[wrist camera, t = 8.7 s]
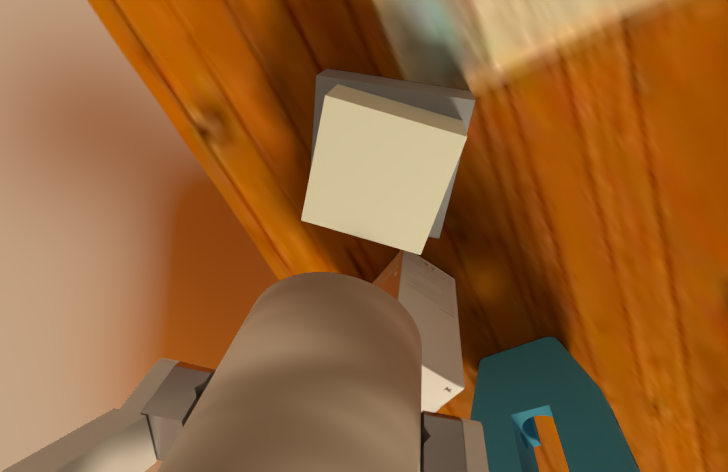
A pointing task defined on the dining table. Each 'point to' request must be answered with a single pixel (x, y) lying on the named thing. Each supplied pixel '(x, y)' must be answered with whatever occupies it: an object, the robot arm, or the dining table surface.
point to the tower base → (405, 92)
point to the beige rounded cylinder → (312, 386)
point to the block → (546, 411)
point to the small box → (429, 323)
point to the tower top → (381, 168)
